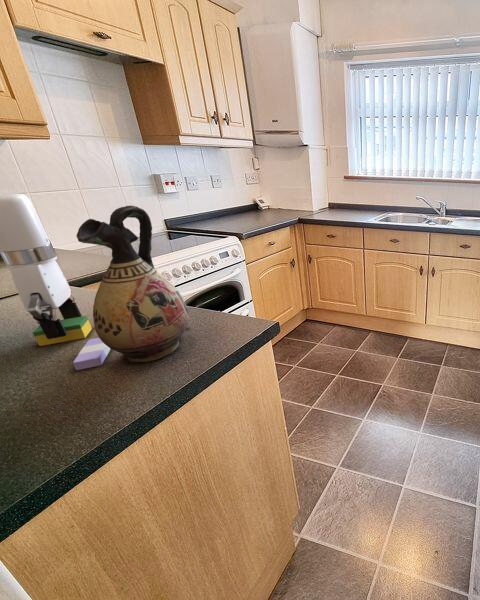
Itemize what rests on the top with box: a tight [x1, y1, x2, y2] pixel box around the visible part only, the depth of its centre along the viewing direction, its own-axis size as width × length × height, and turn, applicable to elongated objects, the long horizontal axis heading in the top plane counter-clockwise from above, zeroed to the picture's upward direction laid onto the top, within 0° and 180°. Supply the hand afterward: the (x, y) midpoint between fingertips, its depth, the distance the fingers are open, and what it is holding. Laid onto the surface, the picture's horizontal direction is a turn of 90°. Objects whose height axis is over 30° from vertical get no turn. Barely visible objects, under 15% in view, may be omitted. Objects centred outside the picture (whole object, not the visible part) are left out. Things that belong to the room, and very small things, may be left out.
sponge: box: [32, 315, 93, 347], centre depth 77 cm, size 8×5×4 cm, turn 116°
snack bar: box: [72, 337, 112, 371], centre depth 70 cm, size 10×4×2 cm, turn 26°
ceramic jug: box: [76, 205, 190, 363], centre depth 67 cm, size 17×15×30 cm
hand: (66, 327), depth 77 cm, fingers open, 9 cm apart
